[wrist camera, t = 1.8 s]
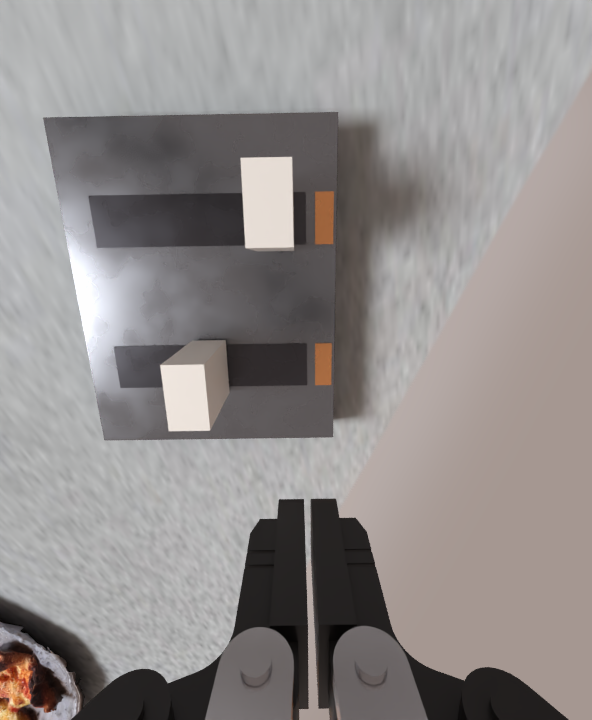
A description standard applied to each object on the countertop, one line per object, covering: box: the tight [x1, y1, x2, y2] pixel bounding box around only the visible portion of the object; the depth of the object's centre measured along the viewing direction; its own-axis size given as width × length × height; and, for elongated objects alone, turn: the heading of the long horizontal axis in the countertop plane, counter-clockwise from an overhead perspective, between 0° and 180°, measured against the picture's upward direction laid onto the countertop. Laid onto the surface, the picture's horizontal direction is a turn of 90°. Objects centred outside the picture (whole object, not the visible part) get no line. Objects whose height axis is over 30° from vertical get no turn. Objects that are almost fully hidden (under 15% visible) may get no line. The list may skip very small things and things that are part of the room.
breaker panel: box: [43, 112, 338, 440], centre depth 25 cm, size 18×22×3 cm
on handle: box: [240, 157, 294, 251], centre depth 19 cm, size 2×4×6 cm, turn 1°
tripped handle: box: [160, 340, 230, 431], centre depth 22 cm, size 2×4×6 cm, turn 1°
